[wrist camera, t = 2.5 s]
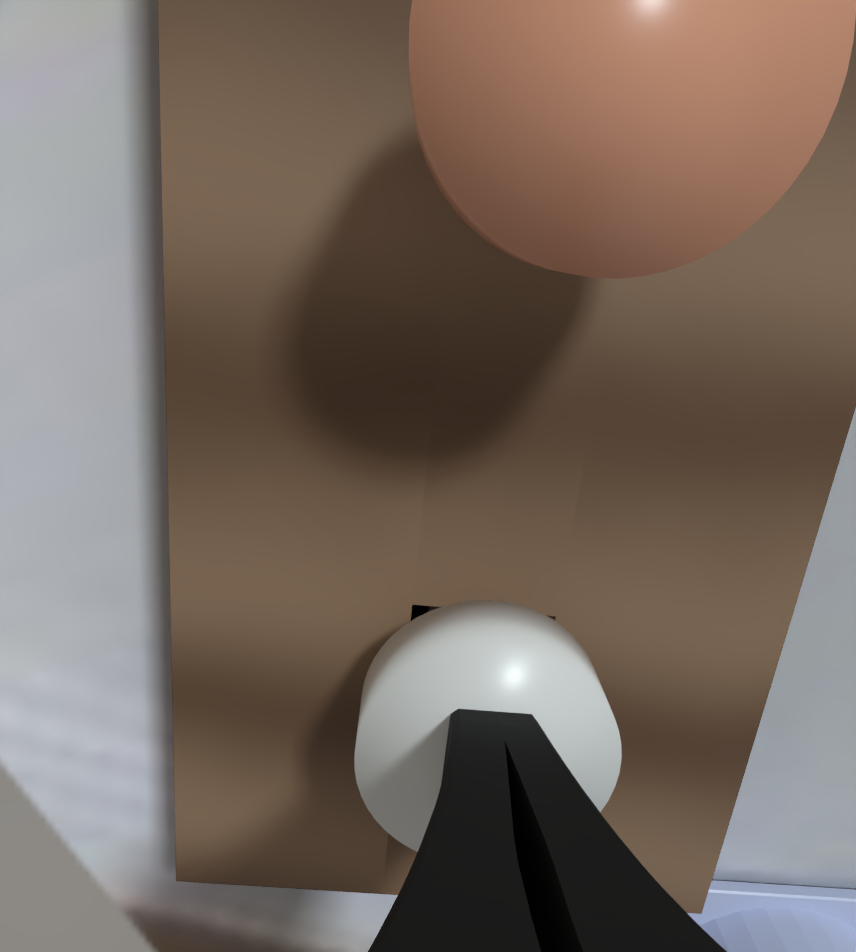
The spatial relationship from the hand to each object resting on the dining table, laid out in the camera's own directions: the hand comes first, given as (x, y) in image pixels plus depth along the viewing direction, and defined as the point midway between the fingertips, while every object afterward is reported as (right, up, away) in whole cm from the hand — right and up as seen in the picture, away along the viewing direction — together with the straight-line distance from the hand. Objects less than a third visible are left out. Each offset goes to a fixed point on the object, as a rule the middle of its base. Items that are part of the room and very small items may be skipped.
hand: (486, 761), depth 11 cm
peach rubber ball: (+1, +10, -1) cm, 10 cm away
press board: (0, +6, +4) cm, 7 cm away
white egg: (0, +1, +4) cm, 4 cm away
